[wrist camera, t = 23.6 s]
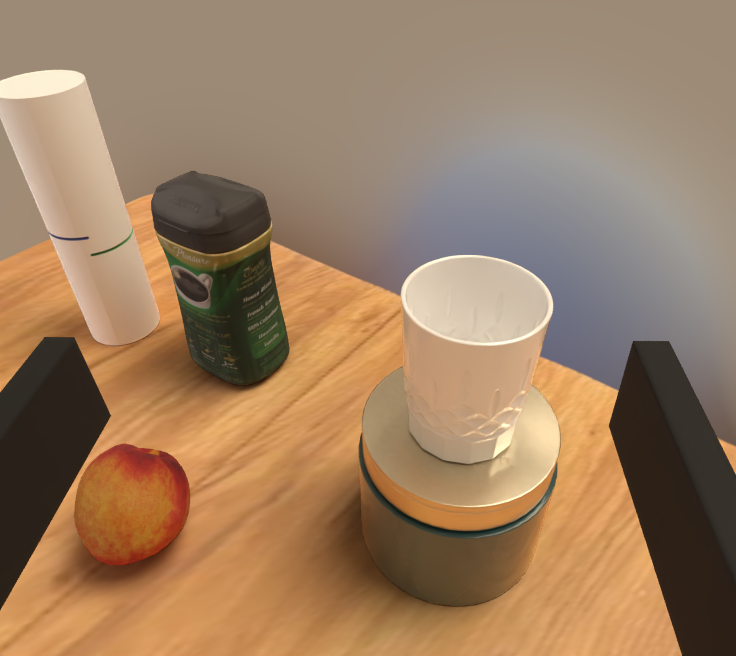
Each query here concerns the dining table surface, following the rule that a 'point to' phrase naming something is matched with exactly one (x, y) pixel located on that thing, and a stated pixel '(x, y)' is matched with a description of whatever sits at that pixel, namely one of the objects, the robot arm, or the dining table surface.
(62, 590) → the dining table surface
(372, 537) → the jar
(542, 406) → the jar lid
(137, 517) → the fruit
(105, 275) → the cylindrical container
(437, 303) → the white cup
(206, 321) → the coffee jar
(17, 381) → the robot arm
